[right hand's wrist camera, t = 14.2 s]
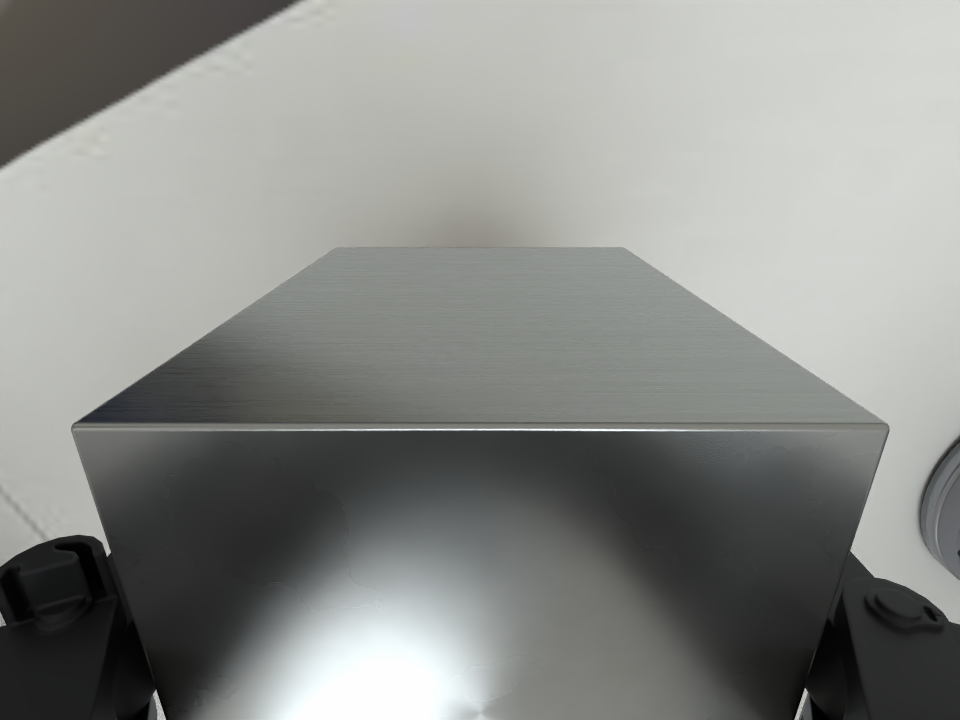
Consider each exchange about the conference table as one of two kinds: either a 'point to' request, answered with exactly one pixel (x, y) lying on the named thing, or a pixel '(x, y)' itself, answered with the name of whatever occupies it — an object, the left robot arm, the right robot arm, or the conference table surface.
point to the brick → (480, 498)
